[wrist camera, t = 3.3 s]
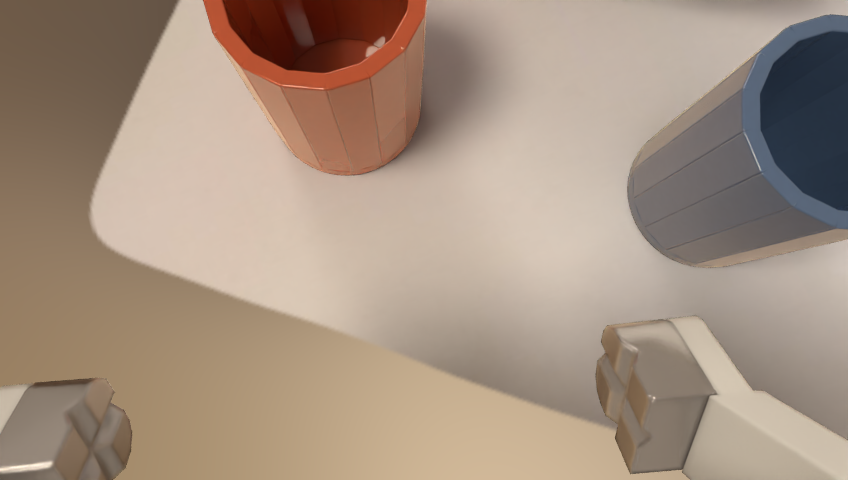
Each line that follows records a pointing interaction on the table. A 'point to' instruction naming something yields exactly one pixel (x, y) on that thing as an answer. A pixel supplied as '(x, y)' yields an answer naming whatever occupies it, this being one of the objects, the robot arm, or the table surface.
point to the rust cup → (330, 73)
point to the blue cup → (754, 157)
